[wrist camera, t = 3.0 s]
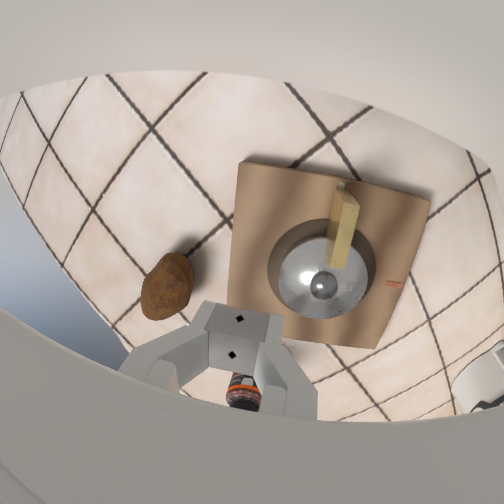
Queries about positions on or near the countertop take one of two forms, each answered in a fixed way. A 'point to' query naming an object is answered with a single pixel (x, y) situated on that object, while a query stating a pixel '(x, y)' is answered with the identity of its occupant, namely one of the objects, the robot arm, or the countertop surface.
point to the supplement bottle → (243, 393)
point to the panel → (316, 222)
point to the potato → (167, 287)
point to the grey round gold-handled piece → (326, 266)
